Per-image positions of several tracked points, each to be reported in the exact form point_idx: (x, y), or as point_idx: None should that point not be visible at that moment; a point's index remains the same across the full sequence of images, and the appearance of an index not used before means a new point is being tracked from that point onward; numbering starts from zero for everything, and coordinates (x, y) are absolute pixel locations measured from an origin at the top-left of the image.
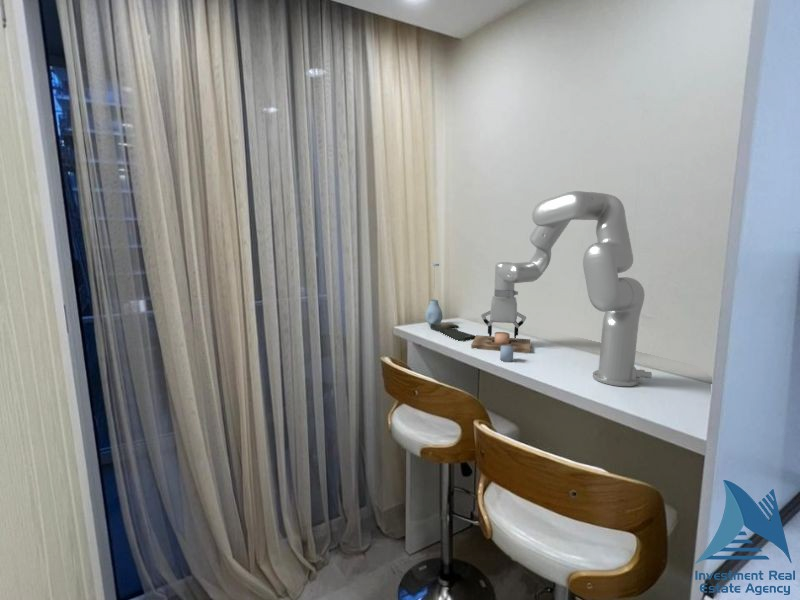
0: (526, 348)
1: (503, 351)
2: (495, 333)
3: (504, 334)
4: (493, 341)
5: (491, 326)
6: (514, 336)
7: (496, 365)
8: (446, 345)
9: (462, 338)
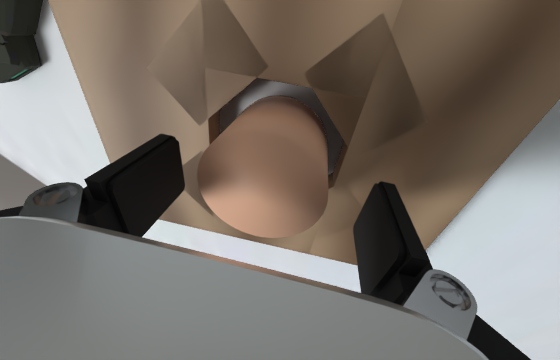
0: None
1: None
2: (205, 190)
3: (278, 217)
4: (220, 108)
5: (127, 230)
6: (355, 235)
7: None
8: (29, 166)
9: (3, 63)
